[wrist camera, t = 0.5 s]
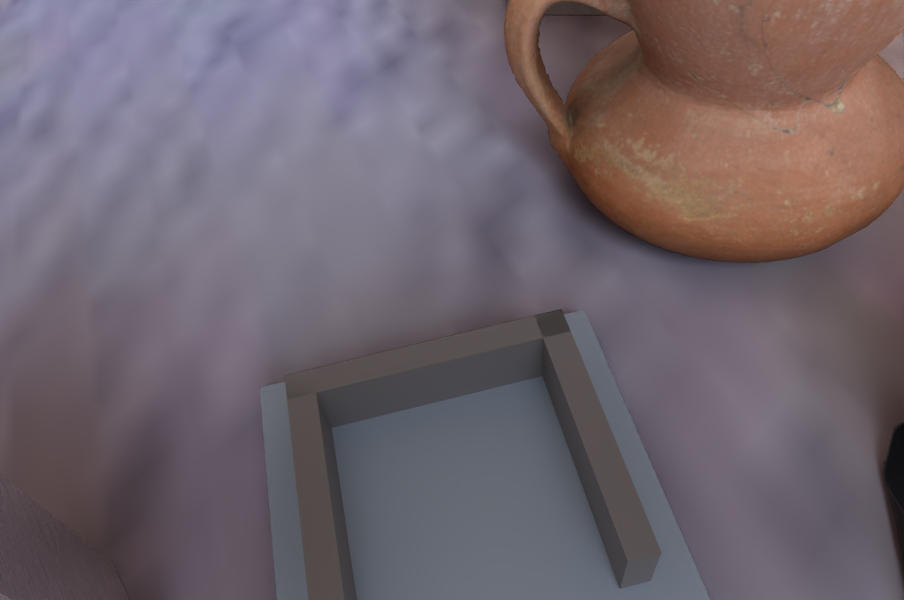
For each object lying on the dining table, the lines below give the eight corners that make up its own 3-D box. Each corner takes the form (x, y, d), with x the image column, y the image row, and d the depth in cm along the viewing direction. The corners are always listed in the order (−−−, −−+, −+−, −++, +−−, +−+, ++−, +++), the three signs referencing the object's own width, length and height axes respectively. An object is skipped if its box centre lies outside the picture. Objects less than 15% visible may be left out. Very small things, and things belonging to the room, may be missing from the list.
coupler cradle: (775, 774, 21) (811, 758, 18) (311, 910, 20) (275, 914, 17) (583, 324, 31) (587, 268, 28) (266, 400, 30) (239, 350, 27)
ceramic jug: (866, 74, 39) (990, -257, 28) (969, 294, 30) (1214, -65, 19) (514, 93, 41) (499, -207, 30) (512, 303, 32) (489, -15, 21)
